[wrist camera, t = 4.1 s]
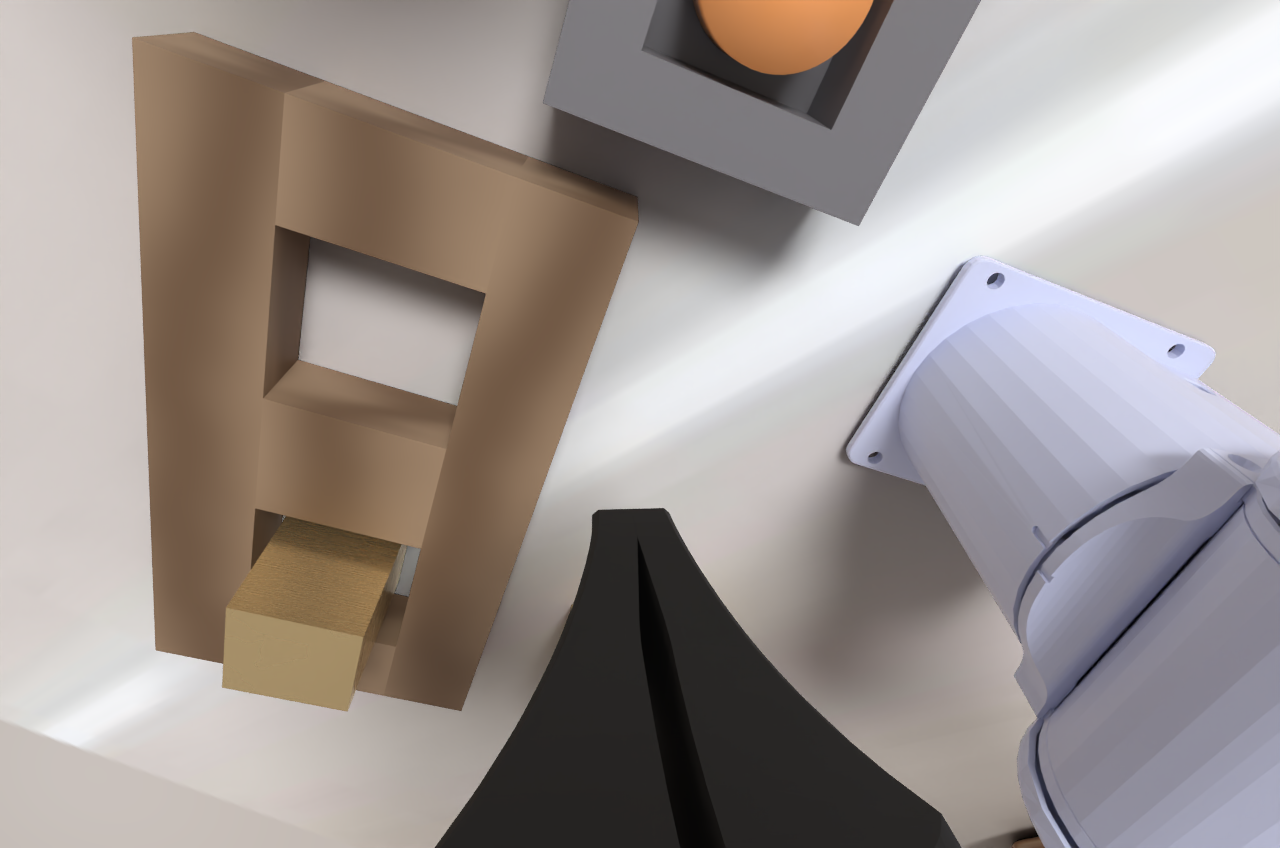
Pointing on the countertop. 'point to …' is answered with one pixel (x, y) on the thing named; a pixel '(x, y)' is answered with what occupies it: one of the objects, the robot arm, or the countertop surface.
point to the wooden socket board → (330, 400)
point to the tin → (1029, 843)
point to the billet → (310, 614)
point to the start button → (781, 30)
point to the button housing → (759, 94)
